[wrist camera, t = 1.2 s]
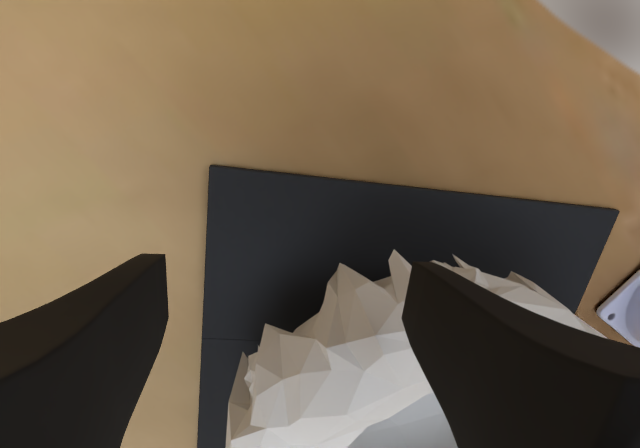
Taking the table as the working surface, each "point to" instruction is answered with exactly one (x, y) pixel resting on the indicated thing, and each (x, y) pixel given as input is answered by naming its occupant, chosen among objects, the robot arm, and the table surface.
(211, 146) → the table surface
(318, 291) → the mat
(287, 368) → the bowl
